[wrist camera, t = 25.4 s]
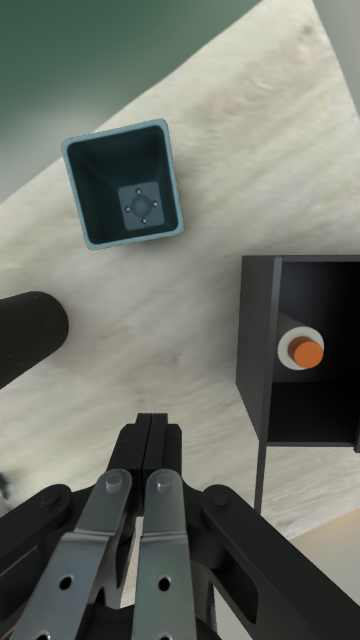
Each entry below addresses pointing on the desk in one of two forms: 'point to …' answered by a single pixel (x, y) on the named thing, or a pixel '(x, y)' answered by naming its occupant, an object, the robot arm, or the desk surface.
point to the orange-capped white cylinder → (297, 343)
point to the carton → (311, 383)
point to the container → (29, 332)
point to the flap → (268, 378)
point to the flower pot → (124, 184)
